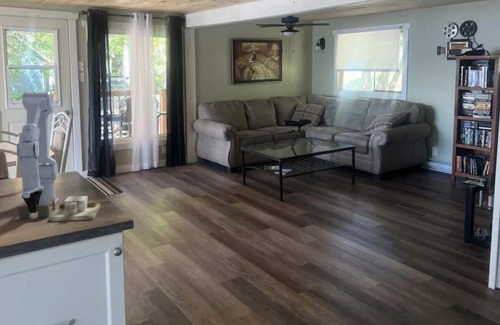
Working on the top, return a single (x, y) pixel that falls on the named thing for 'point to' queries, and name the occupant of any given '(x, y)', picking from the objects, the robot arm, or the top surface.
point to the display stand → (76, 209)
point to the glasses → (41, 209)
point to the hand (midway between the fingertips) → (33, 211)
